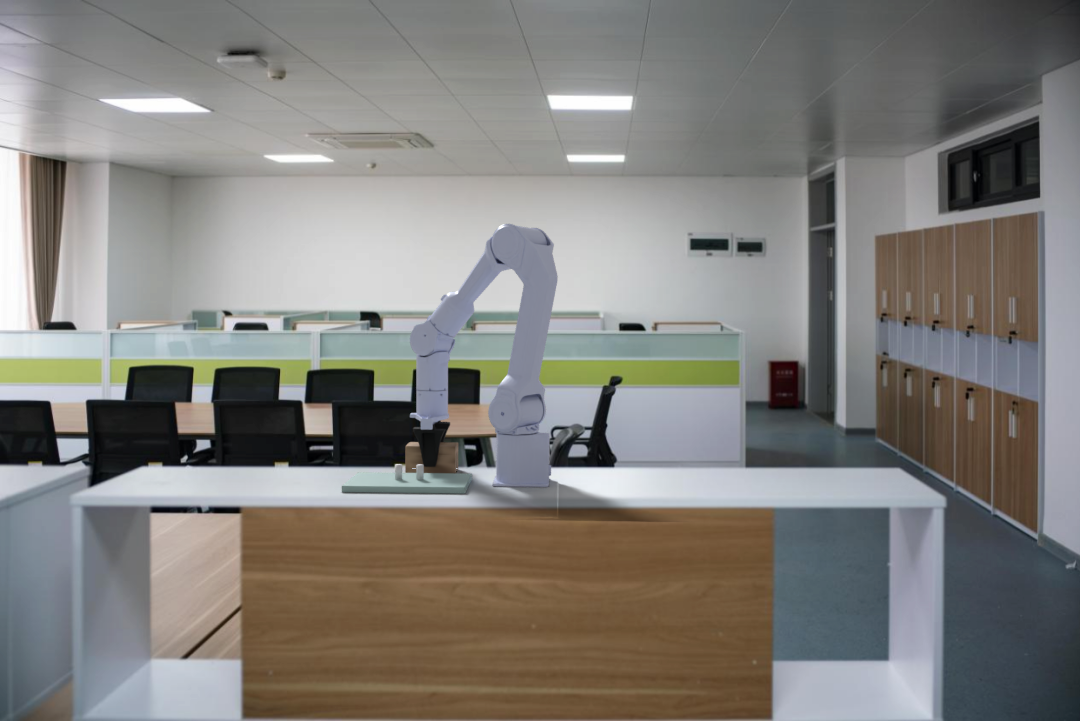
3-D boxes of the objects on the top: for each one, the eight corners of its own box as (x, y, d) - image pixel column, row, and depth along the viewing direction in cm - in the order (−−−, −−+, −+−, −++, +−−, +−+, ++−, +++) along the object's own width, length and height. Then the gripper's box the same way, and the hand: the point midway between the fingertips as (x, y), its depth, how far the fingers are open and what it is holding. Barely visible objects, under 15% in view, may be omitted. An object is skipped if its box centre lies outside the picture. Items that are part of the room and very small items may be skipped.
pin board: (472, 479, 156) (472, 459, 155) (464, 493, 144) (464, 472, 143) (358, 477, 156) (358, 458, 156) (341, 491, 144) (341, 470, 144)
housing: (458, 469, 165) (458, 442, 165) (455, 474, 160) (455, 446, 160) (409, 468, 165) (410, 442, 165) (405, 473, 160) (405, 446, 160)
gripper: (416, 386, 169) (416, 456, 170) (403, 393, 155) (403, 470, 155) (453, 386, 169) (453, 457, 170) (443, 393, 155) (443, 471, 155)
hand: (432, 463), depth 163 cm, fingers closed on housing, 5 cm apart
